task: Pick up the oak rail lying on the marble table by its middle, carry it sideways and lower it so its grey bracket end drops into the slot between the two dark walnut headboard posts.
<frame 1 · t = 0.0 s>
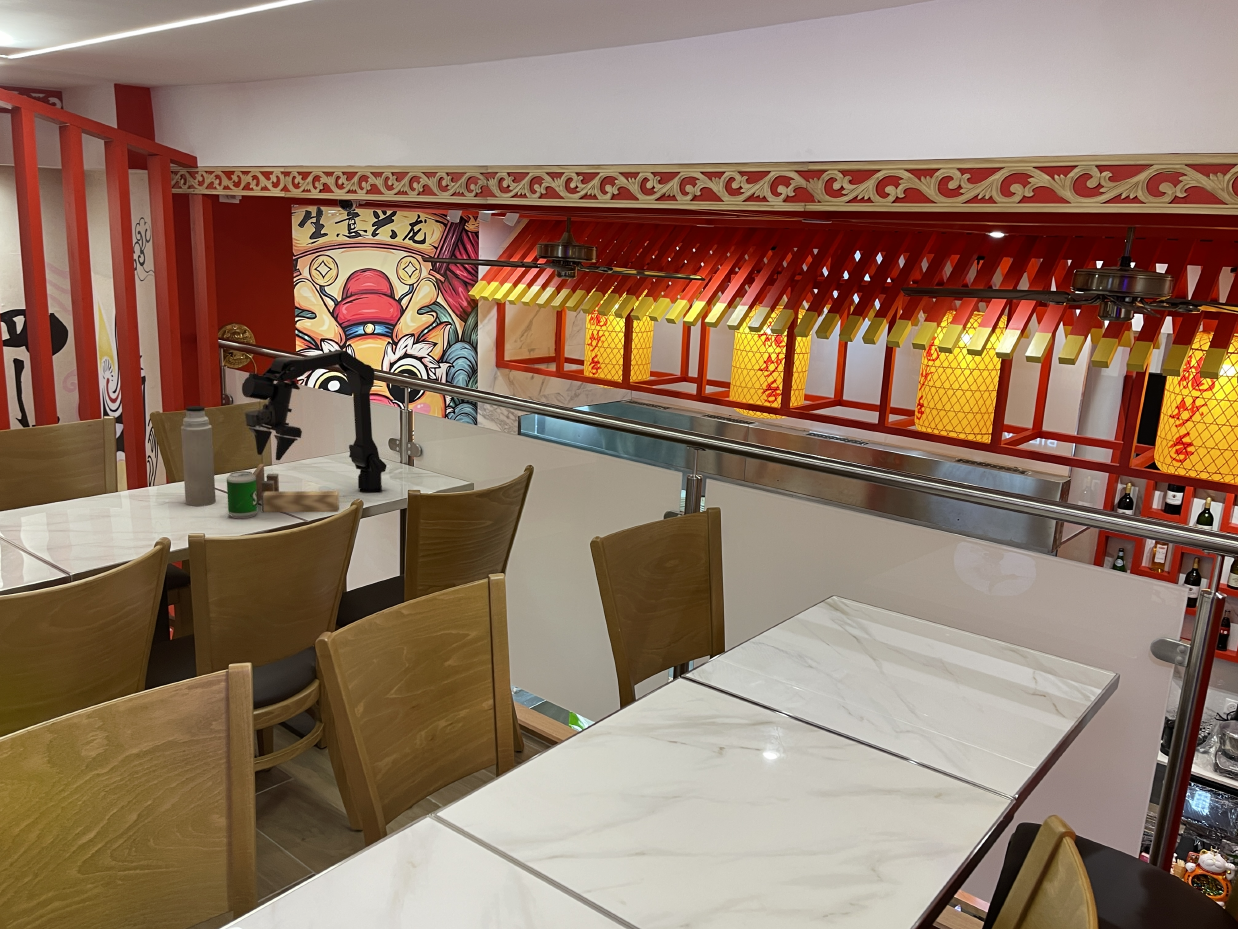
hand: (268, 457, 265), 15 cm above the table, tool pointing down, fingers open, 9 cm apart
rail: (301, 510, 271), on the table
thermos bottle: (200, 503, 273), on the table
headboard: (267, 499, 279), on the table
soda can: (243, 516, 263), on the table
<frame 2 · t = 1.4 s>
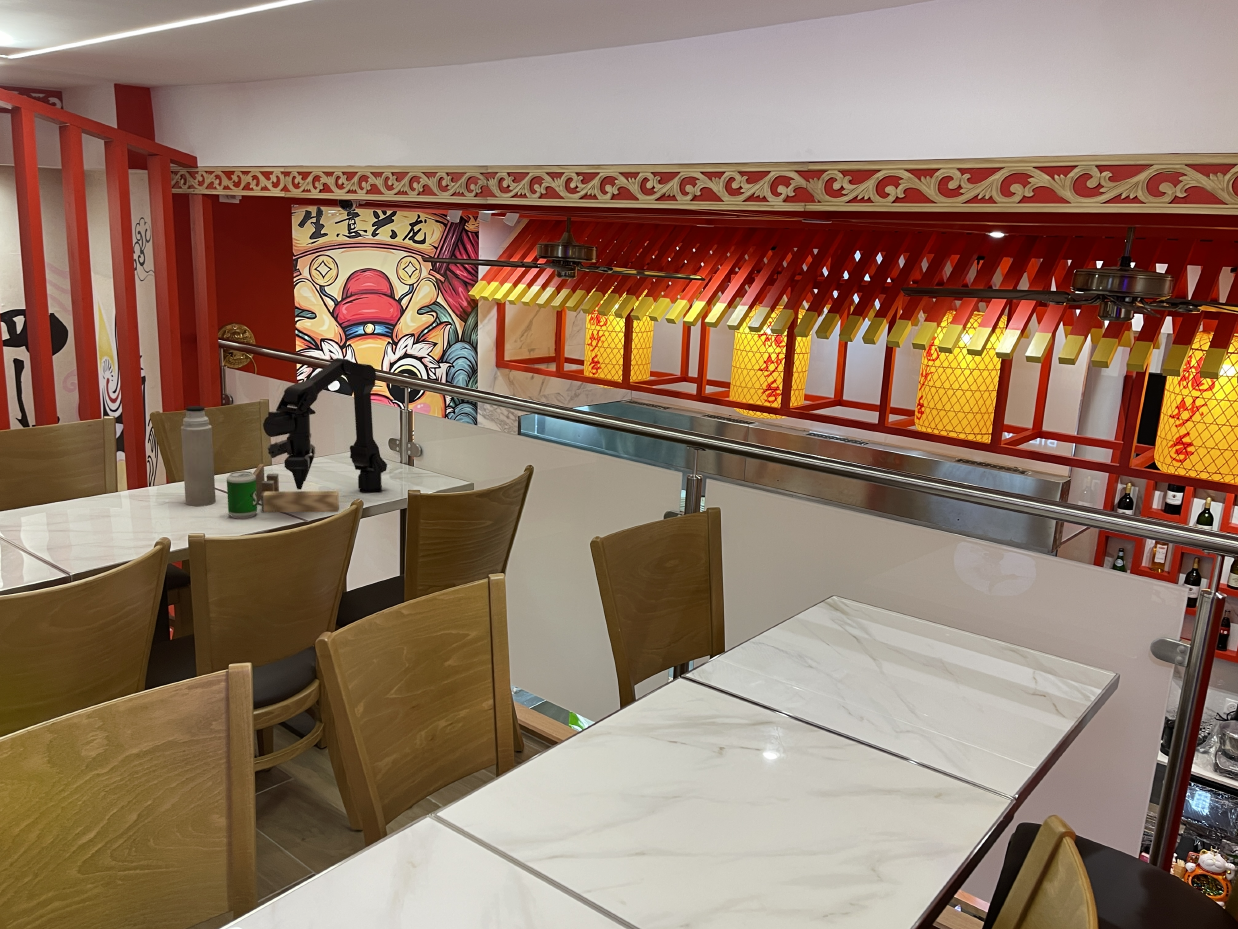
hand: (301, 485, 269), 7 cm above the table, tool pointing down, fingers open, 9 cm apart
nothing on the table moved.
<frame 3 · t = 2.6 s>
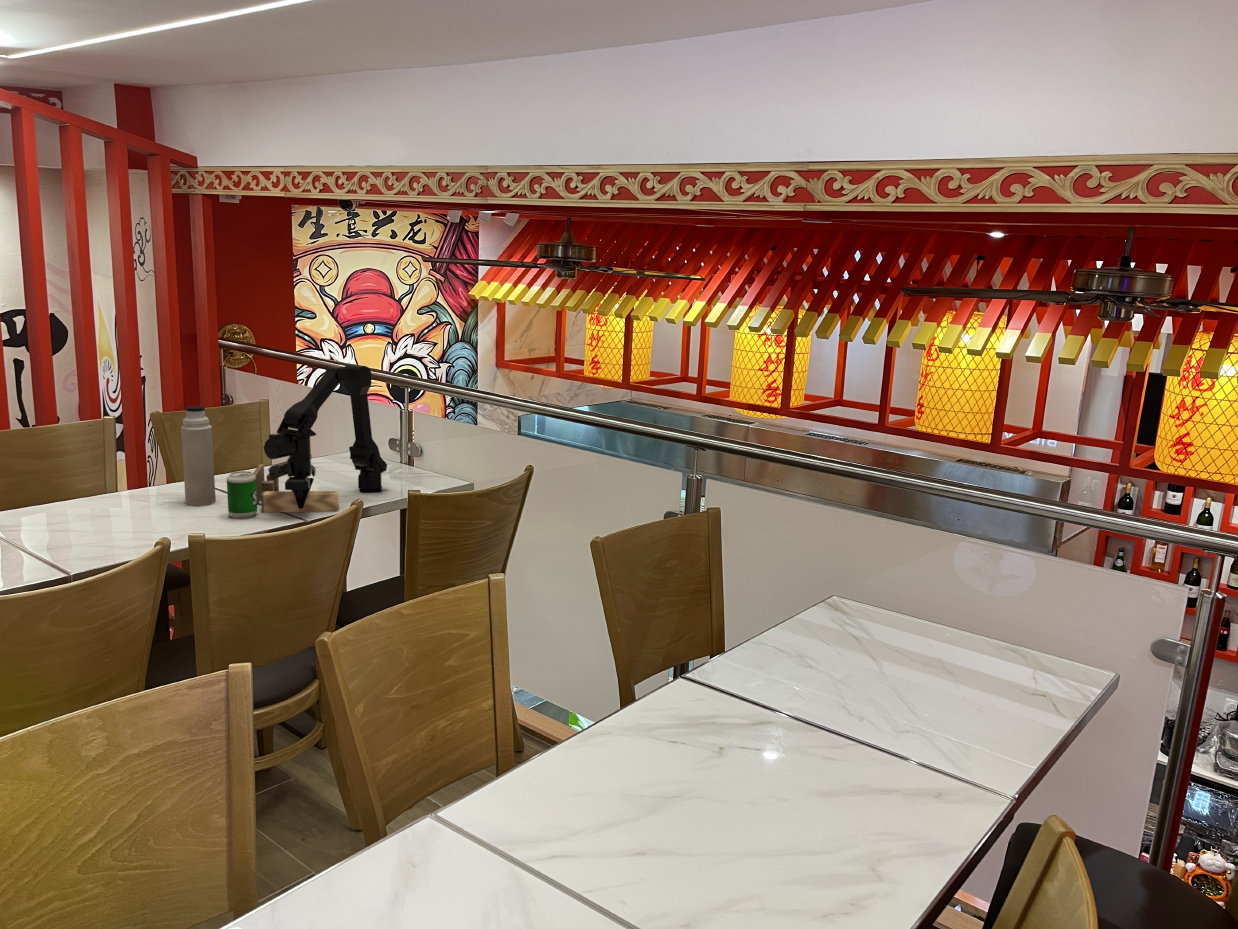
hand: (301, 506, 270), 1 cm above the table, tool pointing down, fingers closed on rail, 4 cm apart
rail: (301, 509, 271), on the table, touching gripper
everything else where it was.
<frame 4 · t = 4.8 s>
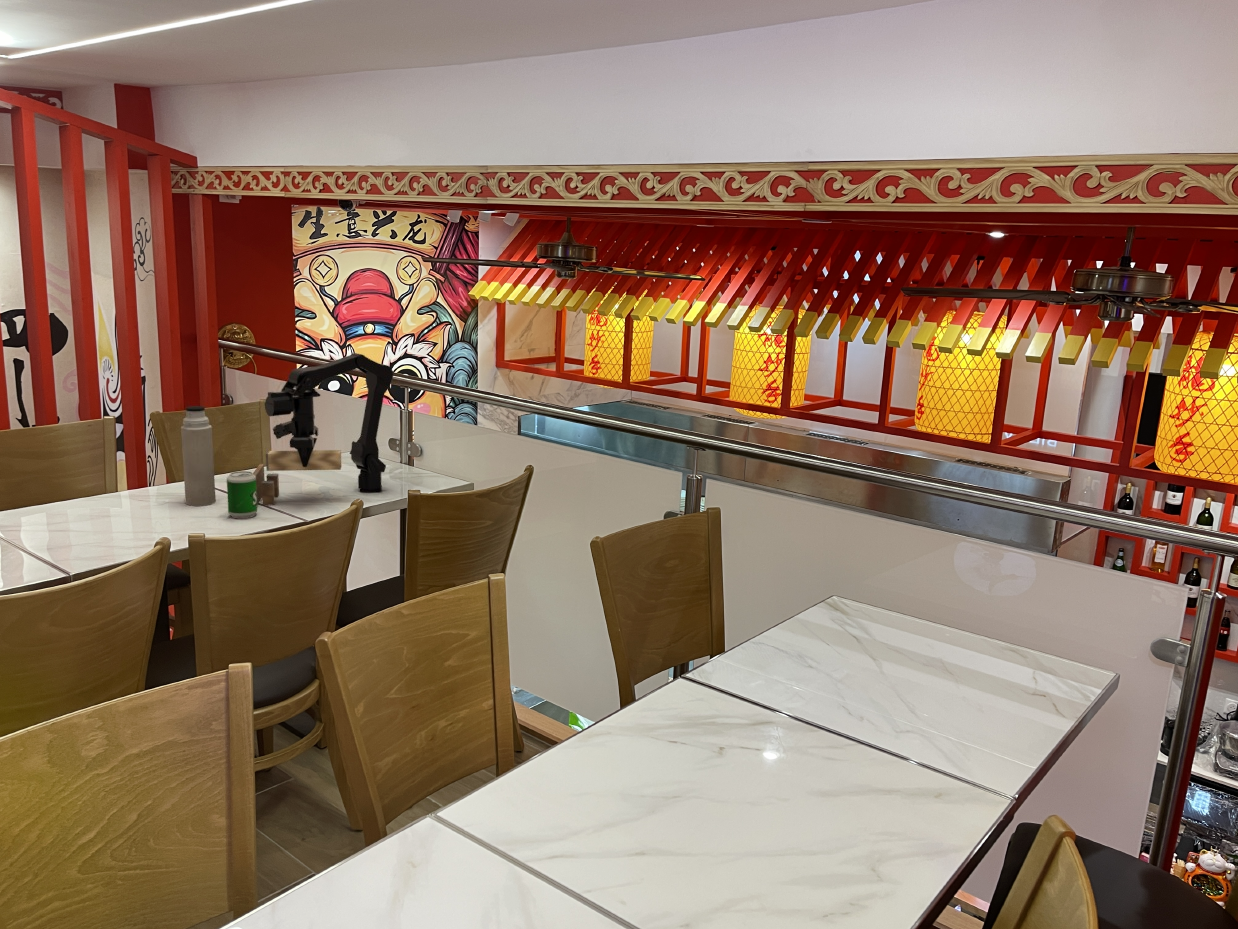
hand: (305, 465, 278), 11 cm above the table, tool pointing down, fingers closed on rail, 4 cm apart
rail: (305, 468, 278), point 10 cm above the table, touching gripper
everything else where it was.
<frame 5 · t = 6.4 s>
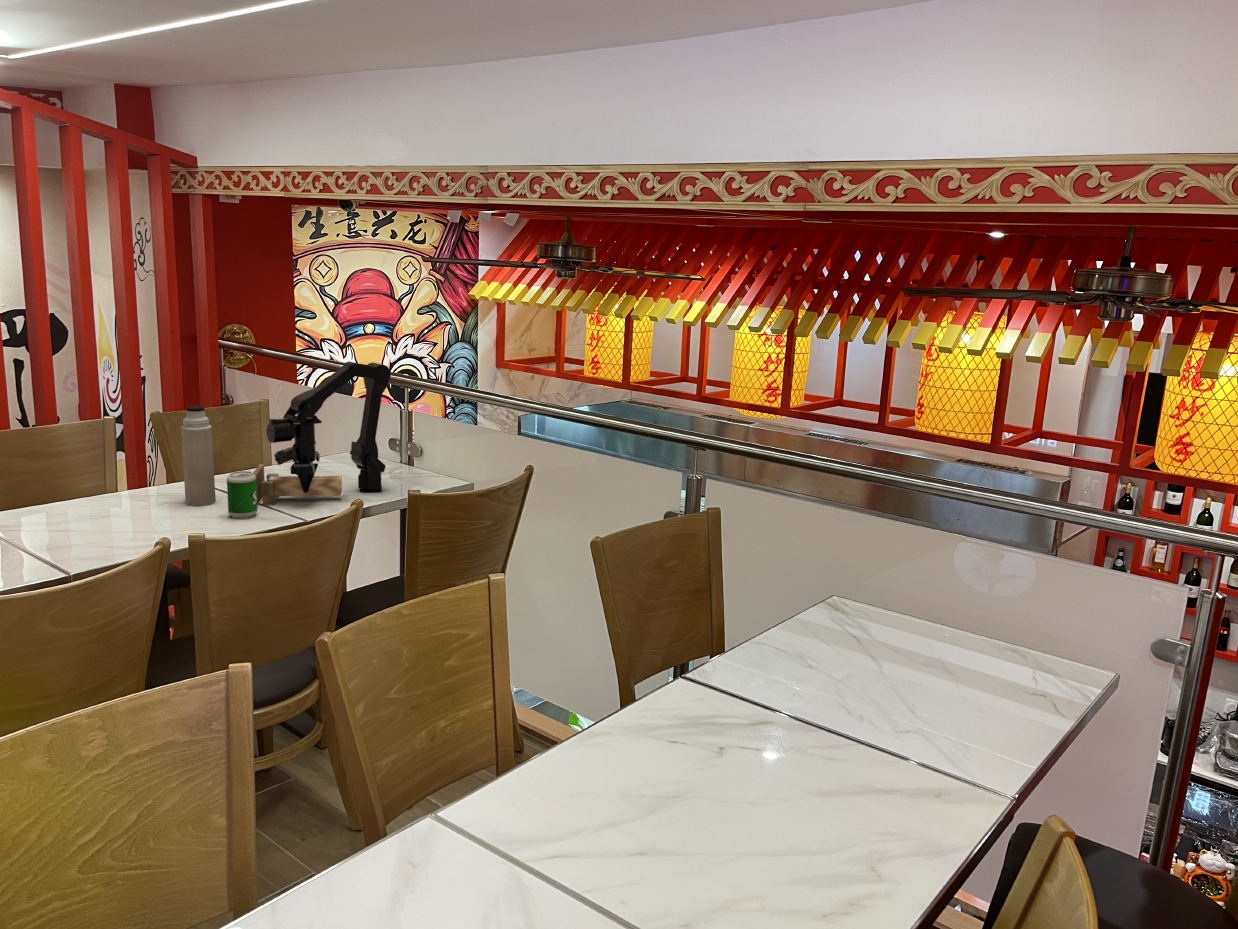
hand: (306, 490, 281), 3 cm above the table, tool pointing down, fingers closed on rail, 4 cm apart
rail: (306, 494, 281), point 2 cm above the table, touching gripper
everything else where it was.
when the fingers open (2 cm above the table, at t = 7.3 s): rail stays where it is, on the table.
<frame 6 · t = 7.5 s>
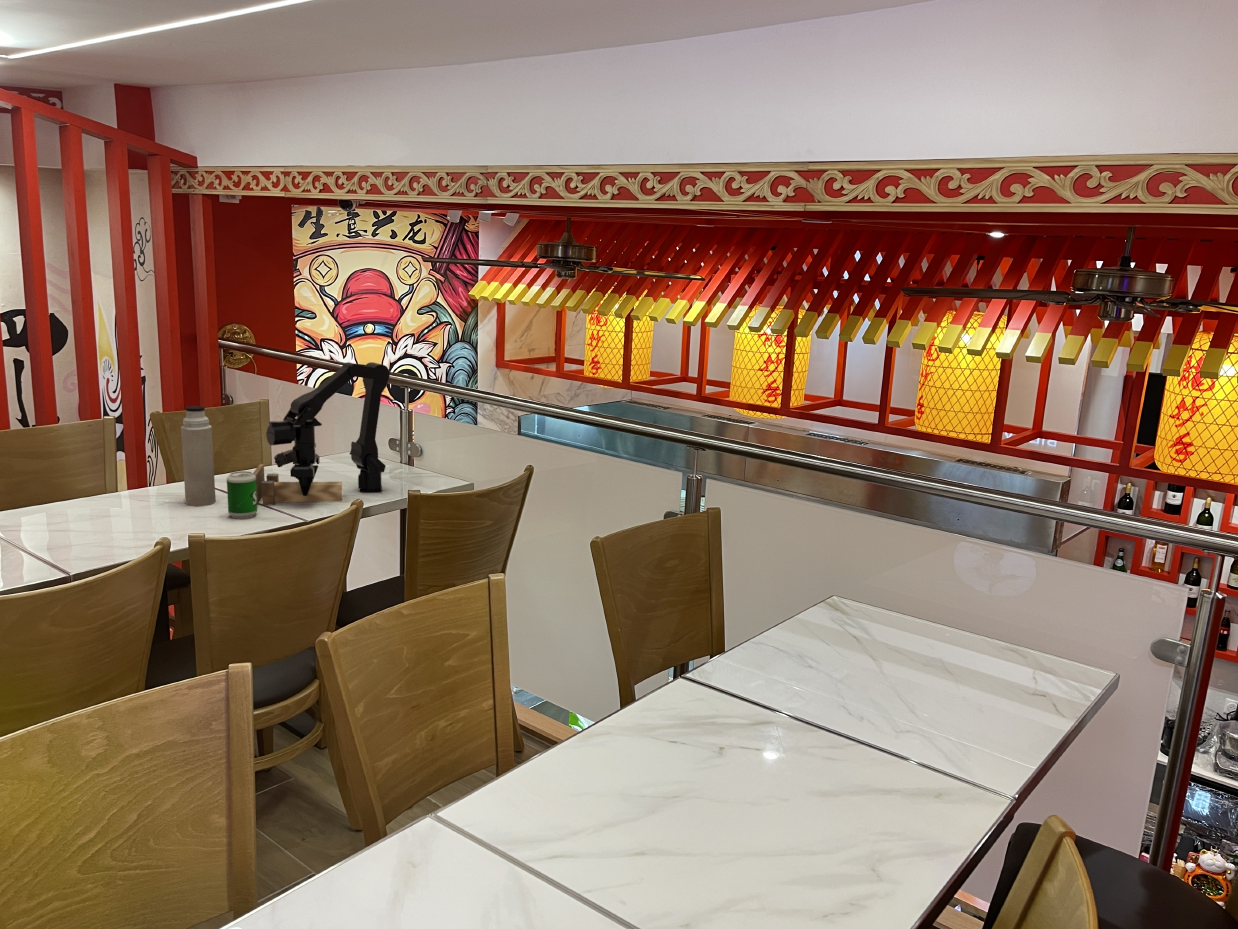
hand: (306, 493, 281), 2 cm above the table, tool pointing down, fingers open, 6 cm apart
rail: (306, 499, 281), on the table
everything else where it was.
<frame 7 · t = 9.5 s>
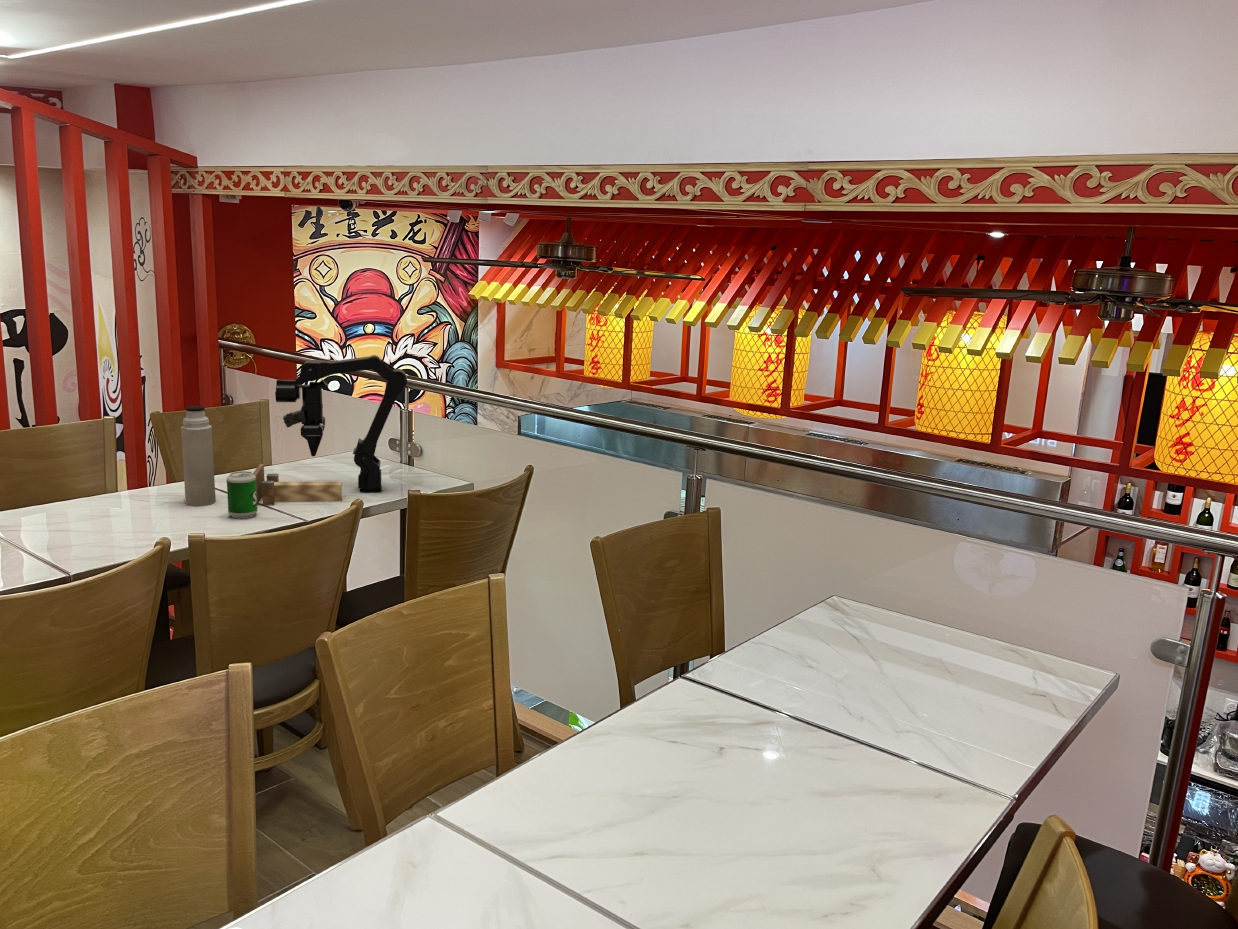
hand: (314, 452, 289), 12 cm above the table, tool pointing down, fingers open, 9 cm apart
nothing on the table moved.
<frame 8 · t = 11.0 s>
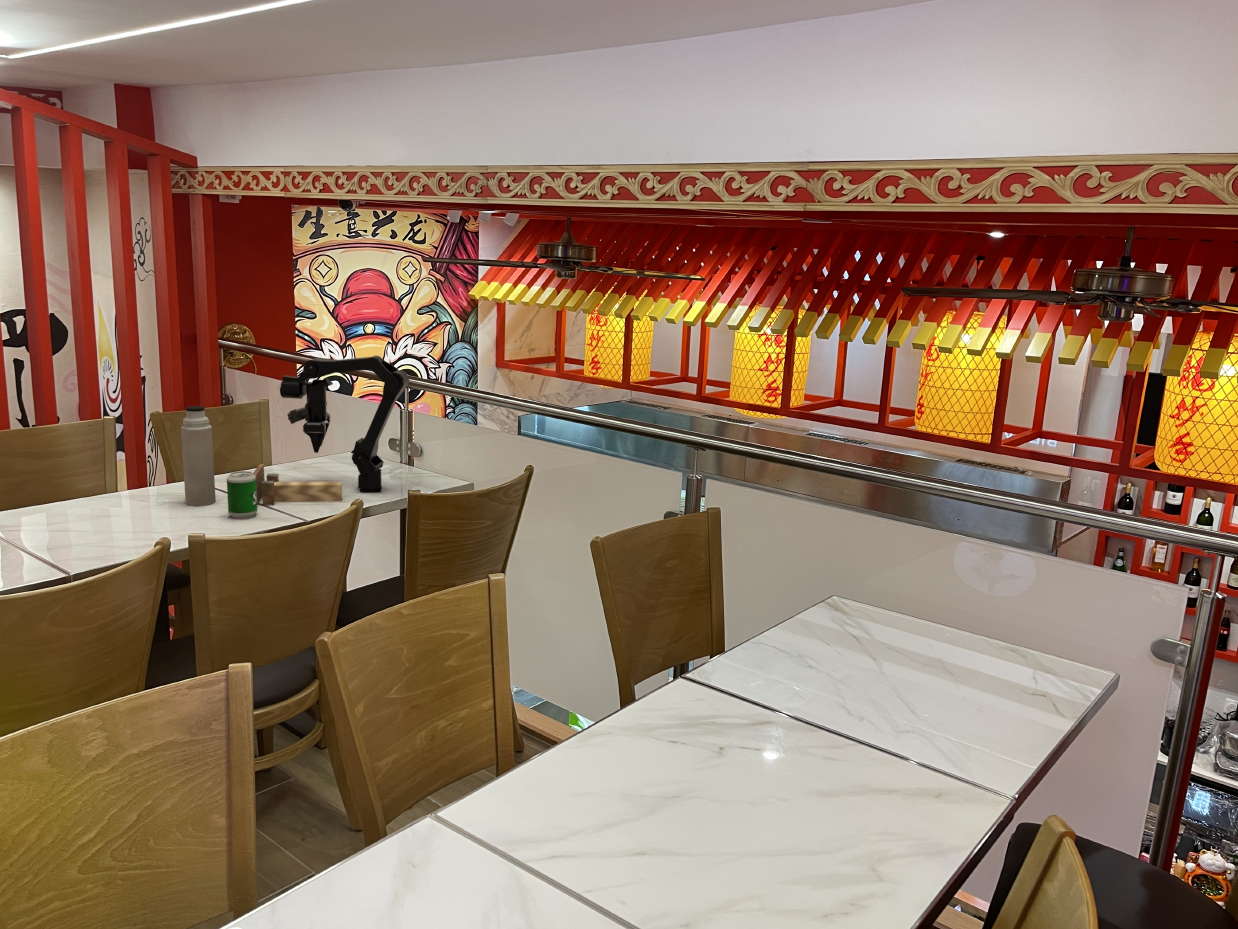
hand: (317, 449, 293), 12 cm above the table, tool pointing down, fingers open, 9 cm apart
nothing on the table moved.
at the end: rail 0.0 cm from the target spot, on the table; rail tilted 0°; the gripper is holding nothing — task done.
